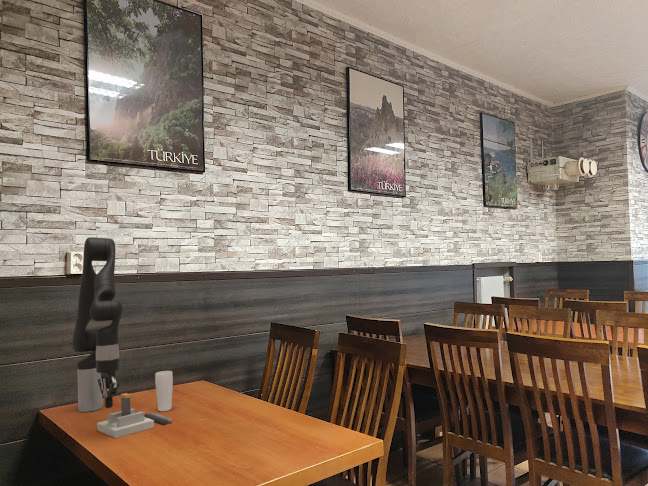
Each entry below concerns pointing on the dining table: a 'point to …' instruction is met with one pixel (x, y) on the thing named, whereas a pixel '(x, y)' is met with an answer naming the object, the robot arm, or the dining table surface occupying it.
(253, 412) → the dining table surface
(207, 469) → the dining table surface
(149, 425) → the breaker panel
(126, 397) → the lever
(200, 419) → the dining table surface
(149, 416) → the cable bundle
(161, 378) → the drinking glass
